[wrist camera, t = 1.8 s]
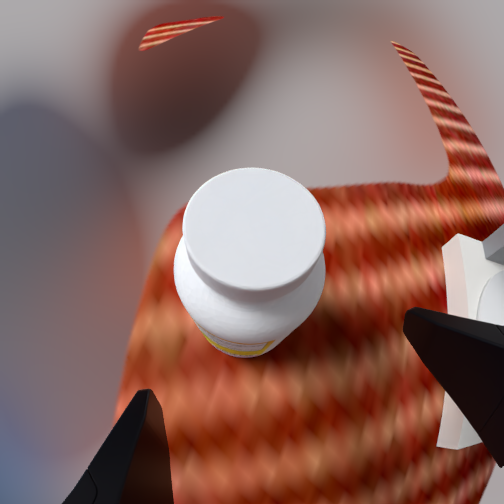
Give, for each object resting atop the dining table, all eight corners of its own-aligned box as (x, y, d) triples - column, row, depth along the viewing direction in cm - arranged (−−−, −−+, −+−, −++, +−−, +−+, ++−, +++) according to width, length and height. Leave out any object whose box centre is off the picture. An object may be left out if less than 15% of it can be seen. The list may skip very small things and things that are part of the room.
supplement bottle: (260, 259, 22) (286, 130, 11) (304, 330, 20) (392, 257, 9) (183, 296, 21) (129, 188, 9) (225, 374, 18) (210, 367, 7)
